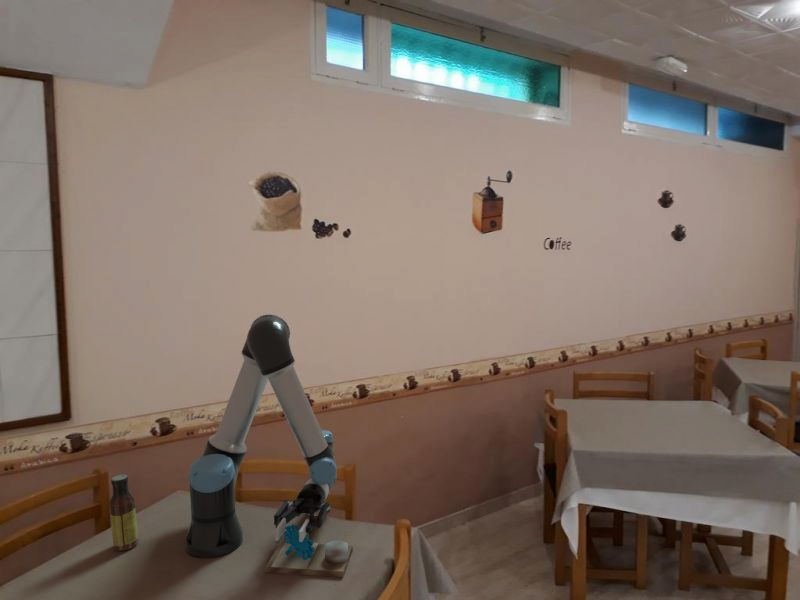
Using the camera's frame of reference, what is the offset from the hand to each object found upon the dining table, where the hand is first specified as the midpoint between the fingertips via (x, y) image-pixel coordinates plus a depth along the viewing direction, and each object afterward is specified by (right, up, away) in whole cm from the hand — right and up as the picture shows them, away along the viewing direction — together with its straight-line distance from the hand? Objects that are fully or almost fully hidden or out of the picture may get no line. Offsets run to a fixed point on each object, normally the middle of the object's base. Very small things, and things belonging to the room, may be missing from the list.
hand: (288, 536), depth 140 cm
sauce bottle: (-48, -9, +14) cm, 50 cm away
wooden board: (+5, -9, +6) cm, 12 cm away
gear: (+2, -8, +6) cm, 10 cm away
